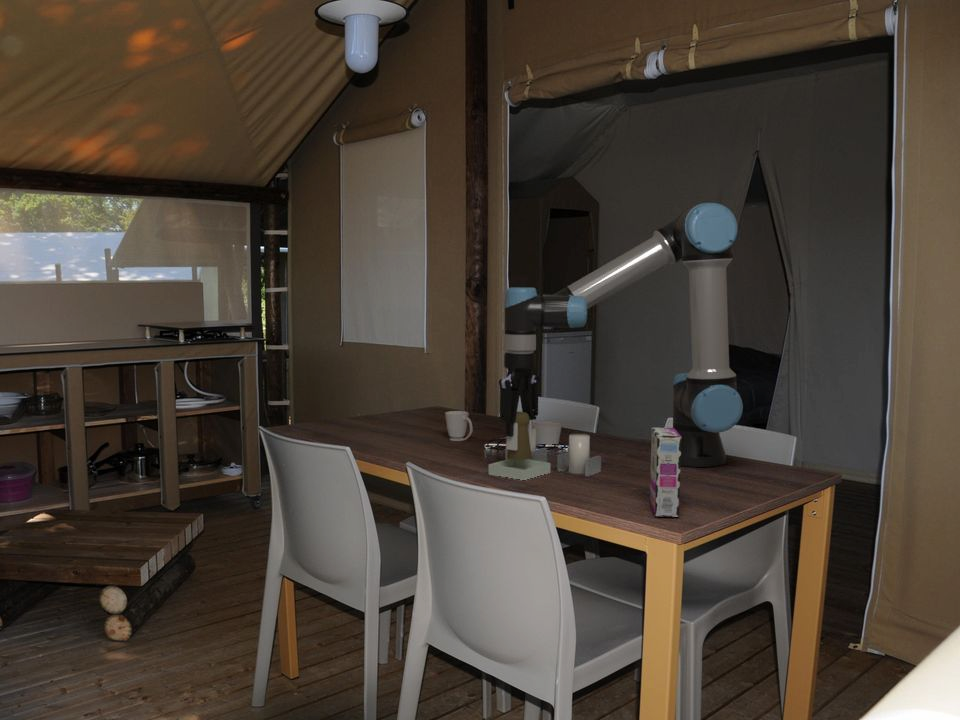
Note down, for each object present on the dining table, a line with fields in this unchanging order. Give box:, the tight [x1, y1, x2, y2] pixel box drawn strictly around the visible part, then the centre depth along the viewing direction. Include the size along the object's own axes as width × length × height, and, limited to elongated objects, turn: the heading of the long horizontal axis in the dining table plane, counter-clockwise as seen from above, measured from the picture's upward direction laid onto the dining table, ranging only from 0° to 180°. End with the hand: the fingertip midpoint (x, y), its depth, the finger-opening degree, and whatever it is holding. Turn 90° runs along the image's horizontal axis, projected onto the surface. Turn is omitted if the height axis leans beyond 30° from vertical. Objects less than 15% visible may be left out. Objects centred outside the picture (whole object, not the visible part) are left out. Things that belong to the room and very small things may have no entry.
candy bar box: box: [649, 427, 682, 518], centre depth 172 cm, size 11×5×16 cm, turn 175°
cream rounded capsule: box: [529, 427, 537, 460], centre depth 218 cm, size 5×5×9 cm
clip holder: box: [504, 446, 602, 477], centre depth 213 cm, size 25×6×4 cm, turn 51°
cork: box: [507, 411, 532, 460], centre depth 206 cm, size 6×6×11 cm
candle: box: [532, 421, 563, 445], centre depth 241 cm, size 9×9×6 cm
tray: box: [488, 459, 551, 481], centre depth 206 cm, size 11×11×2 cm
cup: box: [444, 410, 474, 442], centre depth 250 cm, size 7×10×8 cm
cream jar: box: [568, 433, 591, 475], centre depth 208 cm, size 5×5×9 cm
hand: (519, 447), depth 206 cm, fingers closed on cork, 5 cm apart
